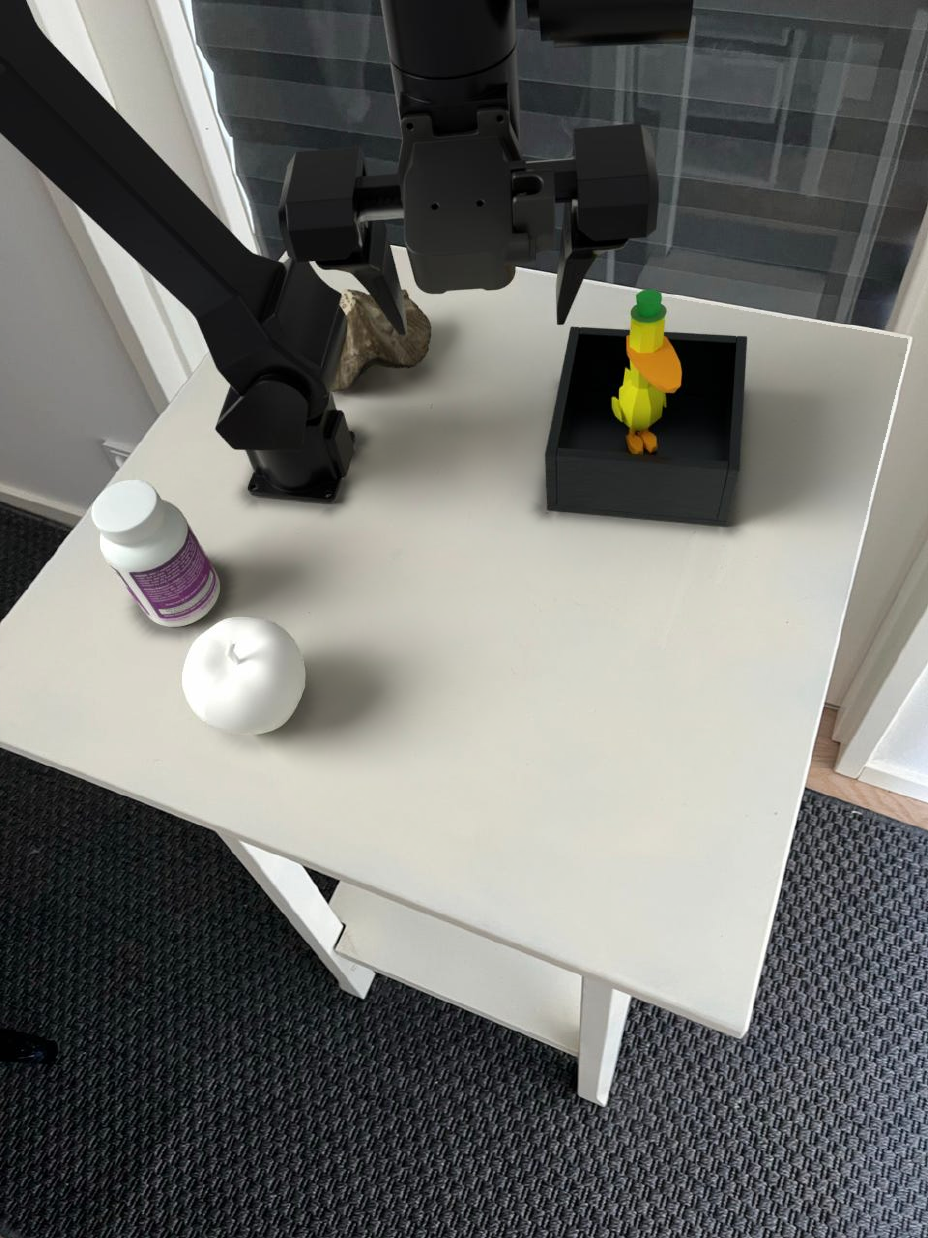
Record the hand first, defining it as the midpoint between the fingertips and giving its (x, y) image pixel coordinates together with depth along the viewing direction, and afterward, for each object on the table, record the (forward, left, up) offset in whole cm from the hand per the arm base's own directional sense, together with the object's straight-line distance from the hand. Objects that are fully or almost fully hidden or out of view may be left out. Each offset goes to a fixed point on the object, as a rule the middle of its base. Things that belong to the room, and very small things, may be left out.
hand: (481, 325), depth 54 cm
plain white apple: (-11, -20, -13) cm, 26 cm away
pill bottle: (-19, -13, -13) cm, 27 cm away
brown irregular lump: (-12, +10, -13) cm, 20 cm away
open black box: (+10, +3, -13) cm, 17 cm away
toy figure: (+10, +3, -13) cm, 16 cm away
